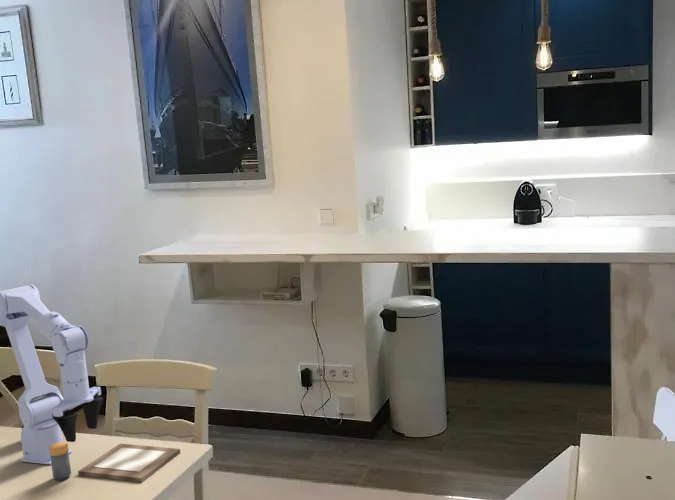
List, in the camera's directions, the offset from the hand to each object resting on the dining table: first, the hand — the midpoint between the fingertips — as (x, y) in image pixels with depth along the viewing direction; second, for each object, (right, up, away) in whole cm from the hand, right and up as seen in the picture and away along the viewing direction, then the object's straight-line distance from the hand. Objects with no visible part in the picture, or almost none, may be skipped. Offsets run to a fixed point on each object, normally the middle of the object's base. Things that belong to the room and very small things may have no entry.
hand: (81, 434), depth 170 cm
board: (+10, -9, +5) cm, 14 cm away
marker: (-5, -10, 0) cm, 11 cm away
